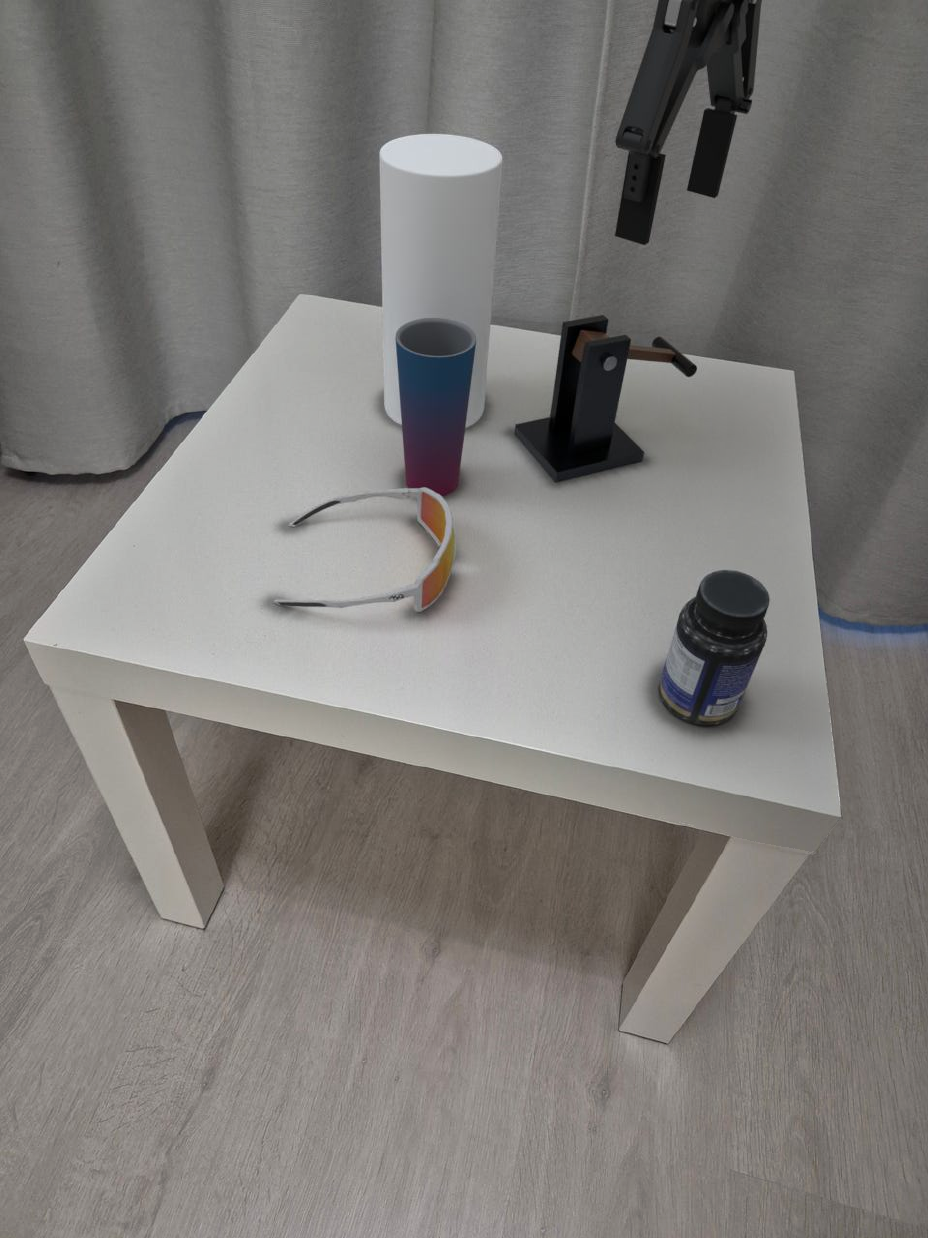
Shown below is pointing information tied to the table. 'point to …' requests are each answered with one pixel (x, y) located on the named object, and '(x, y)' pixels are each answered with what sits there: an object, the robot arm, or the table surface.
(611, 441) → the bracket
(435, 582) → the sunglasses
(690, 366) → the lever
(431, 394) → the cup
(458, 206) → the tall pillar cylinder
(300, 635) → the table surface
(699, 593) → the pill bottle
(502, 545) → the table surface
